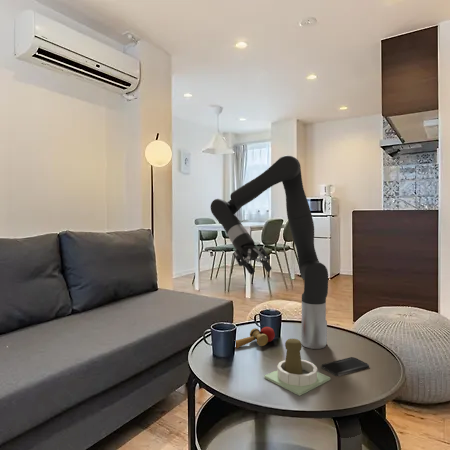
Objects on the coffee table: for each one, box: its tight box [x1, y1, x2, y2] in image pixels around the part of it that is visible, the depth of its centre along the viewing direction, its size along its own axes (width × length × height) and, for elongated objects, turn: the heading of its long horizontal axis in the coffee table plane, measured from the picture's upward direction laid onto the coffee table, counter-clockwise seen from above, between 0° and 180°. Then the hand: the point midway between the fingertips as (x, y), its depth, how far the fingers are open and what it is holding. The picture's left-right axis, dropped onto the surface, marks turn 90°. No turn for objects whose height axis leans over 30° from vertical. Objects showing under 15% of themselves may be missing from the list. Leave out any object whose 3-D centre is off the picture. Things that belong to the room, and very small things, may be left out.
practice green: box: [263, 359, 331, 396], centre depth 111 cm, size 15×14×4 cm
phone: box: [321, 356, 370, 377], centre depth 120 cm, size 8×1×15 cm
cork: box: [284, 338, 303, 375], centre depth 113 cm, size 6×6×11 cm
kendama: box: [235, 326, 276, 349], centre depth 140 cm, size 8×6×18 cm
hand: (261, 271), depth 129 cm, fingers open, 8 cm apart
